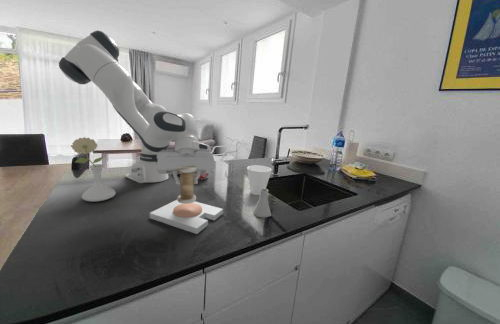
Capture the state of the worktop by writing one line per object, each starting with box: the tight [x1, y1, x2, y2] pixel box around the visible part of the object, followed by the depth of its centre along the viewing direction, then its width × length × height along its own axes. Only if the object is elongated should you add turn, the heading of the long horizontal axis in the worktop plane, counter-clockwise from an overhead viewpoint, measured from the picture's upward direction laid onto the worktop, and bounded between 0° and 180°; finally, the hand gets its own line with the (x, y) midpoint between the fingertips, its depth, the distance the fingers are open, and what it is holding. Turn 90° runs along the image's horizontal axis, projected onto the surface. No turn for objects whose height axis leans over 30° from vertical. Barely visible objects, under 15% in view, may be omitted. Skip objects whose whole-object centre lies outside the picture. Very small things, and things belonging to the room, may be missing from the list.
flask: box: [252, 188, 272, 219], centre depth 84 cm, size 7×7×10 cm
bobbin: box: [177, 166, 197, 204], centre depth 76 cm, size 6×6×12 cm
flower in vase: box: [70, 136, 117, 203], centre depth 85 cm, size 13×11×25 cm
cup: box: [246, 164, 272, 196], centre depth 105 cm, size 12×12×12 cm
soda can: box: [195, 173, 210, 180], centre depth 121 cm, size 7×7×12 cm
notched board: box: [149, 198, 224, 235], centre depth 79 cm, size 20×16×3 cm
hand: (187, 183), depth 75 cm, fingers closed on bobbin, 4 cm apart
